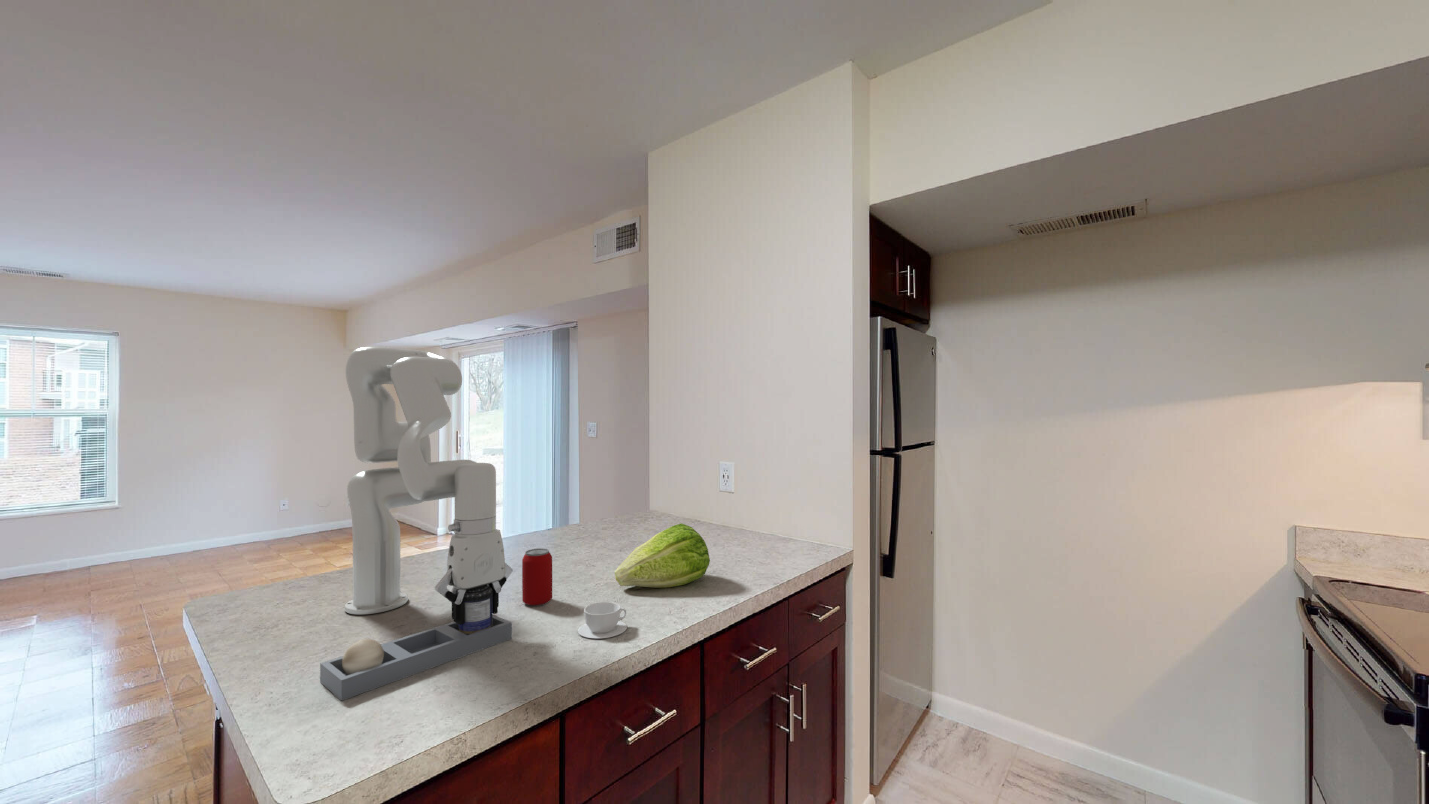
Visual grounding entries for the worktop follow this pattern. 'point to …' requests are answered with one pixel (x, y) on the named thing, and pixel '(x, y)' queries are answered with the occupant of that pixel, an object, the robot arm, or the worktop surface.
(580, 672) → the worktop surface
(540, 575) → the beverage can
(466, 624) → the pill bottle
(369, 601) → the robot arm
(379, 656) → the potato
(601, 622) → the teacup
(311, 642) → the worktop surface
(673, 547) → the lettuce
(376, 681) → the well holder
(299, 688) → the worktop surface
